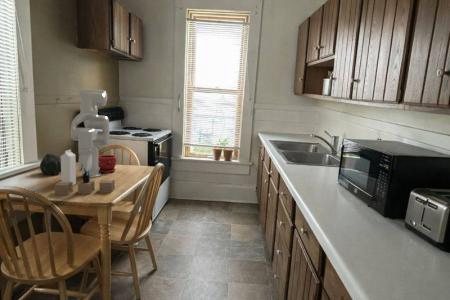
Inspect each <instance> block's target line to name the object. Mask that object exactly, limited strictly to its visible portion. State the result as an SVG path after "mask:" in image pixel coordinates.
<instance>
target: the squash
mask: <svg viewBox="0 0 450 300" xmlns="http://www.w3.org/2000/svg"><path fill="white" fill-rule="evenodd" d="M39 164H40V165H39V170H40V172H42V174H43V175H49V176H53V175H58V174H61V157H59V156H57V155H54V154H51V153H46V154H45V156H44V157H43V158H42V160H41V161H40V163H39Z"/></svg>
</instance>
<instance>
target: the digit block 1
mask: <svg viewBox="0 0 450 300" xmlns="http://www.w3.org/2000/svg"><path fill="white" fill-rule="evenodd" d="M73 192H74V185H73V182H61V181H59V182H57V183H55V184H54V195H55V196H69V195H71V193H73Z"/></svg>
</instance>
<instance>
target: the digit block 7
mask: <svg viewBox="0 0 450 300" xmlns="http://www.w3.org/2000/svg"><path fill="white" fill-rule="evenodd" d="M98 183H99V184H98V185H99V188H98V190H99V193H111V192H112V193H113V192H114V190H115V187H116V186H115V185H116V183H115V179H102V180H100V182H98Z"/></svg>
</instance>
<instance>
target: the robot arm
mask: <svg viewBox="0 0 450 300" xmlns="http://www.w3.org/2000/svg"><path fill="white" fill-rule="evenodd" d="M78 98H79V100H80V113H78V114H77V115H76V116H75V117H74V118H73V119H72V122H71V125H70V138H71V139H72V140H73V141H78V143H77V145H78V146H77V149H78V167H77V168H78V169H77V170H78V171H79V172H81V177H82V181H83V182H89V181H91V180H90V178H97V177H100V176H101V175H102V172H100V171H99V169H100V168H99V156H100V154H99V149H98V147H96V146H97V145H98V146H106V145H109V142H110V120H109V117H108V116H106V115H99V114H98V111H99V109H98V107H105V106H107V101H108V93H107V91H106V90H104V89H88V88H87V89H86V88H83V89H80V90H79V91H78ZM82 123H83V124H84V127H78V125H79V124H82Z"/></svg>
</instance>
